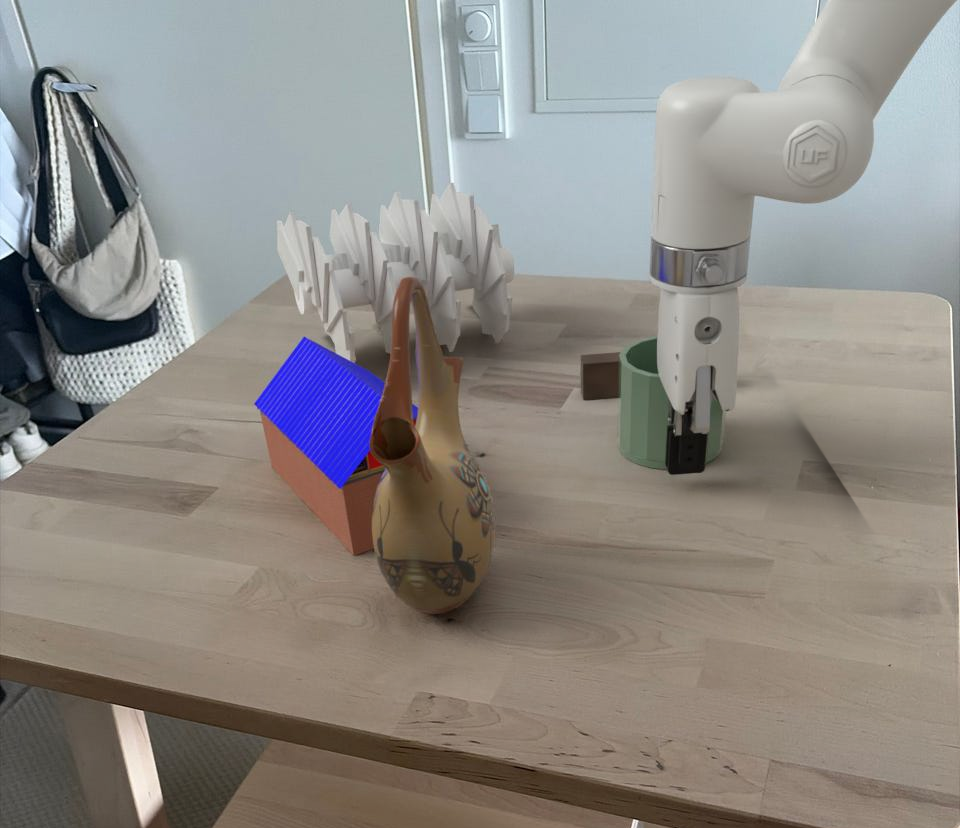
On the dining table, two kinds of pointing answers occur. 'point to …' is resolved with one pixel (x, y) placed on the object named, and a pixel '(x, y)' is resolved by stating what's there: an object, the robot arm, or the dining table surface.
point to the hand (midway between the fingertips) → (684, 469)
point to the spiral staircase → (401, 266)
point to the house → (326, 438)
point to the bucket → (652, 409)
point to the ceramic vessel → (427, 473)
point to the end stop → (600, 375)
